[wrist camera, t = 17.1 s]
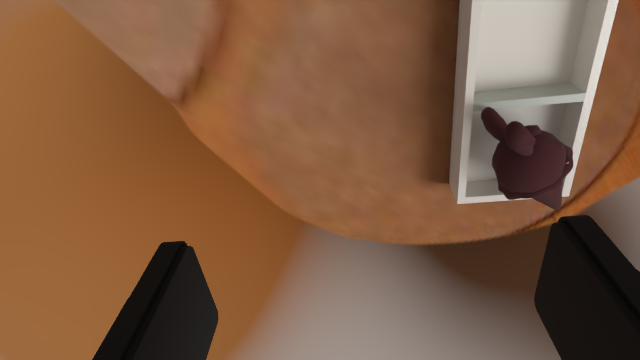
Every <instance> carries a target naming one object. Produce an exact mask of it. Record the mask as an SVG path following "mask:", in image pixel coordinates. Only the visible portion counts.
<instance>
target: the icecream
mask: <svg viewBox="0 0 640 360" xmlns="http://www.w3.org/2000/svg"><path fill="white" fill-rule="evenodd" d="M481 119H482V122H483V124H484V126H485V128H486V130H487V131H488V132H489V133H490V134H491V135H492V136H493V137H494V138H495V139H497V140H499V141H500V142H499V143H498V145H497V147H496V150H495V152H494V155H493V157H492V167H493V169H494V171H495V174H496V177H497V181H498V190H499V191H500V192H502V193H503V194H504V195H505V197H506V198H507V199H508V200H515V199H520V198H525V199H526V198H533V199H535V200H537V201H539V202H541V203H543V204H545V205H547V206H549V207H551V208H553V209H555V210H559V209H560V208H561V202H562V187H563V179H564V178H565V177H566V176H567V174H568V173H569V172H570V171H571V170H572V168H573V150H572V149H571V148H570V147H568V146H566V145H564V144H563V143H562V142H560V141H559V140H558V139H557V138H556V137H555V136H554V135H553V134H551V133H549V132H546V131H543V130H541V129H540V128H539V127H538V125H527V126H524V125H523V124H522V123H520V122H518V121H512V122H510V123H509V124H508V125H507V124H506V122H505V120H504V119H503V118H502V117H501V116H500V115H499V114H498V113H497V112H496V111H495V110H494V109H493V108H491V107H486V108H485V109H483V110H482V112H481Z"/></svg>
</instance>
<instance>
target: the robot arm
mask: <svg viewBox="0 0 640 360" xmlns="http://www.w3.org/2000/svg"><path fill="white" fill-rule="evenodd" d="M534 301H535V306H536V310H537V312H538V314H539V316H540V318H541V320H542V322H543V324H544V326H545V328H546V330H547V332H548V334H549V336H550V338H551V340H552V341H553V343H554V345H555V347H556V349H557V351H558V353H559V355H560V357H561V359H562V360H640V272H639V271H638V270H636V269H635V268H634V266H633V265H632V264H631V263H630V262H629V261H628V259H627V258H626V257H625V256H624V255H623V254H622V253H621V251H620V250H619V249H618V248H617V247H616V246H615V245H614V243H613V242H612V241H611V240H610V239H609V237H608V236H607V235H606V234H605V233H604V232H603V230H602V229H601V228H600V227H599V226H598V225H597V224H596V222H595V221H594V220H593V219H592V218H591V217H590V216H587V215H581V216H565V217H561V218H560V219H559V220H558V223H553V224H552V226H551V229H550V233H549V238H548V242H547V246H546V250H545V254H544V259H543V263H542V267H541V271H540V276H539V280H538V284H537V288H536V292H535V297H534ZM217 323H218V311H217V308H216V305H215V303H214V300H213V298H212V295H211V293H210V290H209V287H208V285H207V282H206V280H205V277H204V275H203V272H202V269H201V267H200V264H199V262H198V259H197V257H196V254H195V251H194V249H193V247H191V246H187V244H186V243H185V242H184V241H177V242H163V243H161V244H160V246H159V247H158V249H157V251H156V252H155V254H154V256H153V257H152V259H151V261H150V263H149V264H148V266H147V268H146V270H145V271H144V273H143V275H142V276H141V278H140V280H139V282H138V284H137V285H136V287H135V288H134V290H133V292H132V294H131V296H130V297H129V298H128V299H127V301H126V303H125V304H124V306H123V308H122V309H121V311H120V313H119V315H118V317H117V318H116V320H115V322H114V323H113V325H112V327H111V328H110V330H109V332H108V334H107V335H106V337H105V339H104V340H103V342H102V344H101V346H100V347H99V349H98V351H97V352H96V354H95V356H94V358H93V359H92V360H206V358H207V355H208V352H209V348H210V345H211V342H212V339H213V336H214V333H215V329H216V326H217Z"/></svg>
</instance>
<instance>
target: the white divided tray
mask: <svg viewBox="0 0 640 360" xmlns="http://www.w3.org/2000/svg"><path fill="white" fill-rule="evenodd" d="M618 1H619V0H460V5H459V22H458V39H457V56H456V73H455V90H454V107H453V125H452V142H451V159H450V176H449V185H450V188H451V190H452V193H453V195H454V197H455V200H456V202H457V204H463V203H478V202H492V201H507V200H508V199H507V198H506V197H505V195H504V194H503V193H502V192H500V191H499V190H498V181H497V177H496V174H495V171H494V169H493V167H492V157H493V155H494V152H495V150H496V147H497V145H498V143H499V142H500V141H499V140H497V139H495V138H494V137H493V136H492V135H491V134H490V133H489V132H488V131H487V130H486V128H485V126H484V124H483V122H482V119H481V112H482V110H483V109H485V108H486V107H491V108H493V109H494V110H495V111H496V112H497V113H498V114H499V115H500V116H501V117H502V118H503V119H504V120H505V122H506V124H507V125H508V124H509V123H510V122H512V121H518V122H520V123H522V124H523V125H524V126H527V125H538V127H539V128H540V129H541V130H543V131H546V132H549V133H551V134H553V135H554V136H555V137H556V138H557V139H558V140H559V141H560V142H562V143H563V144H564V145H566V146H568V147H570V148H571V149H572V150H573V168H572V170H571V171H570V172H569V173H568V174H567V176H566V177H565V178H564V179H563V187H562V197H564V196H569V194H570V190H571V186H572V182H573V178H574V174H575V170H576V166H577V162H578V158H579V154H580V150H581V146H582V142H583V138H584V135H585V131H586V127H587V123H588V119H589V115H590V111H591V107H592V103H593V99H594V95H595V91H596V87H597V83H598V79H599V76H600V72H601V68H602V64H603V60H604V56H605V52H606V48H607V44H608V40H609V36H610V32H611V28H612V24H613V20H614V16H615V13H616V9H617V5H618ZM521 199H525V198H520V199H515V200H521ZM526 199H533V198H526Z"/></svg>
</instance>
